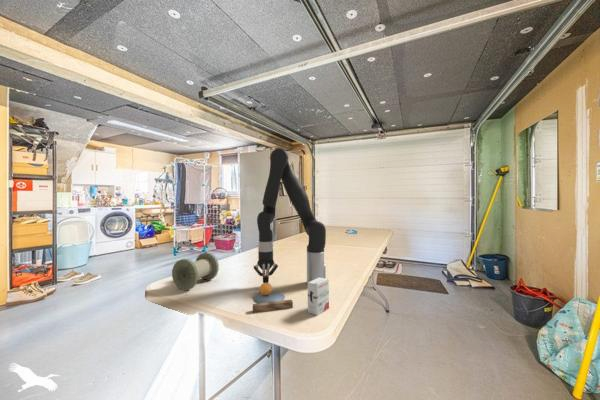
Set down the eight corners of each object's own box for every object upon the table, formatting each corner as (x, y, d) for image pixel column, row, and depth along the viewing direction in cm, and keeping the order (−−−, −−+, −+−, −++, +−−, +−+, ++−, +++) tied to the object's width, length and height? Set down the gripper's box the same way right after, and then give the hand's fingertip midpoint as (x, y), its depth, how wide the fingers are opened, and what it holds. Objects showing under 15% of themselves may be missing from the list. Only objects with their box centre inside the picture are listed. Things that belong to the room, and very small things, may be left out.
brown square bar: (291, 305, 92) (291, 299, 93) (292, 307, 91) (292, 301, 91) (252, 310, 88) (252, 304, 88) (252, 312, 86) (252, 306, 86)
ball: (271, 297, 100) (270, 294, 105) (273, 283, 102) (271, 282, 107) (259, 296, 99) (258, 294, 104) (260, 283, 100) (260, 281, 106)
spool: (195, 292, 106) (195, 261, 107) (171, 288, 111) (172, 258, 112) (218, 280, 122) (218, 253, 122) (196, 277, 127) (197, 251, 127)
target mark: (281, 290, 109) (281, 289, 109) (287, 302, 95) (287, 302, 95) (252, 293, 105) (252, 292, 105) (254, 306, 91) (254, 306, 91)
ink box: (319, 304, 94) (319, 276, 94) (329, 308, 90) (329, 279, 91) (307, 312, 87) (307, 281, 87) (317, 316, 84) (317, 284, 84)
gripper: (253, 252, 108) (253, 287, 108) (279, 250, 112) (279, 285, 112) (252, 249, 116) (252, 282, 115) (277, 247, 119) (277, 280, 119)
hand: (265, 283), depth 114 cm, fingers closed
